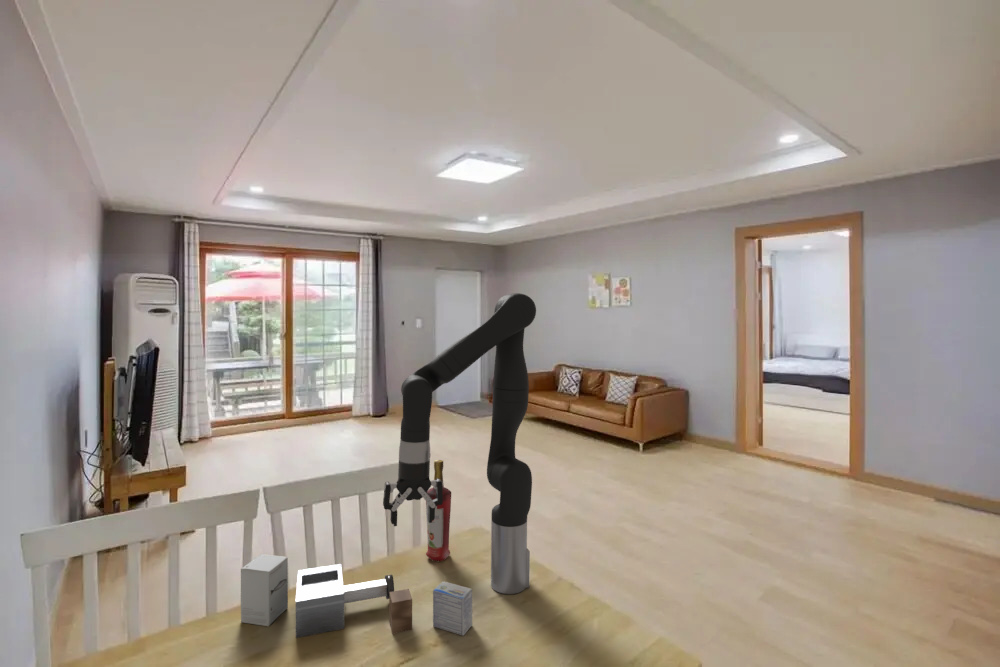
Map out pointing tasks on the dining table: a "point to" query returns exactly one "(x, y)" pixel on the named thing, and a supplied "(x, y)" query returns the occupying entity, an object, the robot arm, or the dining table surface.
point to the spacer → (400, 611)
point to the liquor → (439, 520)
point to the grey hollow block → (319, 600)
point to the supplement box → (264, 589)
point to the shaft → (369, 589)
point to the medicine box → (452, 608)
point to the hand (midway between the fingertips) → (412, 523)
